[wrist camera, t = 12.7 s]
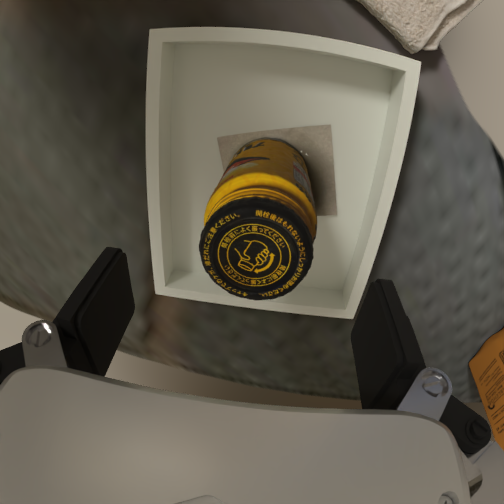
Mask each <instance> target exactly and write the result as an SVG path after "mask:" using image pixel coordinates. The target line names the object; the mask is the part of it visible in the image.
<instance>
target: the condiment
mask: <svg viewBox="0 0 504 504" xmlns="http://www.w3.org/2000/svg"><path fill="white" fill-rule="evenodd" d="M217 141H218V146H219V151H220V156H221V160H222V165H223V171H224V173H223V176H222V177H221V179H220V181H219V183H218V185H217V187H216V188H215V189H214V192H213V193H212V195H211V196H210V199H209V201H208V203H207V206H206V210H205V213H204V229H203V230H202V232H201V235H200V242H199V252H200V256H201V261H202V265H203V267H204V269H205V271H206V273H207V274H208V275H209V276H210V278H211V279H212V280H213V282H214V283H216V284H217V285H218V286H220V287H221V288H222V289H224V290H226V291H227V292H228V293H230V294H232V295H235V296H238V297H241V298H246V299H249V300H256V301H257V300H269V299H270V300H271V299H275V298H278V297H281V296H284V295H286V294H287V293H289V292H291V291H292V290H293V289H294V288H296V286H297V285H298V284H299V283H300V282H301V281H302V280H303V279H304V277H306V275H307V273H308V270H309V269H310V268H311V265H312V260H313V258H314V256H313V251H314V248H313V243H314V240H315V238H316V233H317V216H327V215H337V206H336V189H335V173H334V159H333V146H332V133H331V125H319V126H306V127H295V128H284V129H274V130H265V131H257V132H249V133H242V134H236V135H228V136H222V137H217ZM301 151H302V152H301ZM306 153H307V155H306Z"/></svg>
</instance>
